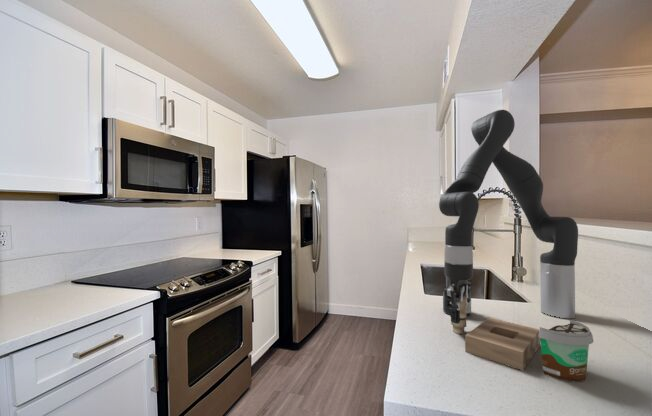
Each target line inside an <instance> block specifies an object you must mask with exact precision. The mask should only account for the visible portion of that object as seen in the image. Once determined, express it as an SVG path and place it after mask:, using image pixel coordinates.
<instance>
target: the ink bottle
mask: <svg viewBox="0 0 652 416" xmlns="http://www.w3.org/2000/svg"><path fill="white" fill-rule="evenodd" d="M468 281H469V280H467V282H468ZM449 283H450V279H449V278H448V277H446V276H445V286H446V288H447V289H448V288H449ZM464 295H465V294H464ZM442 310H443V312H444V313H445V314H447V315H450V316H451V309H450V308H447V306H446V299H445V293H444V291H443V293H442ZM471 315H472V295H471V294H470V302H469V303H467V306H466V317H469V316H471Z"/></svg>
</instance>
